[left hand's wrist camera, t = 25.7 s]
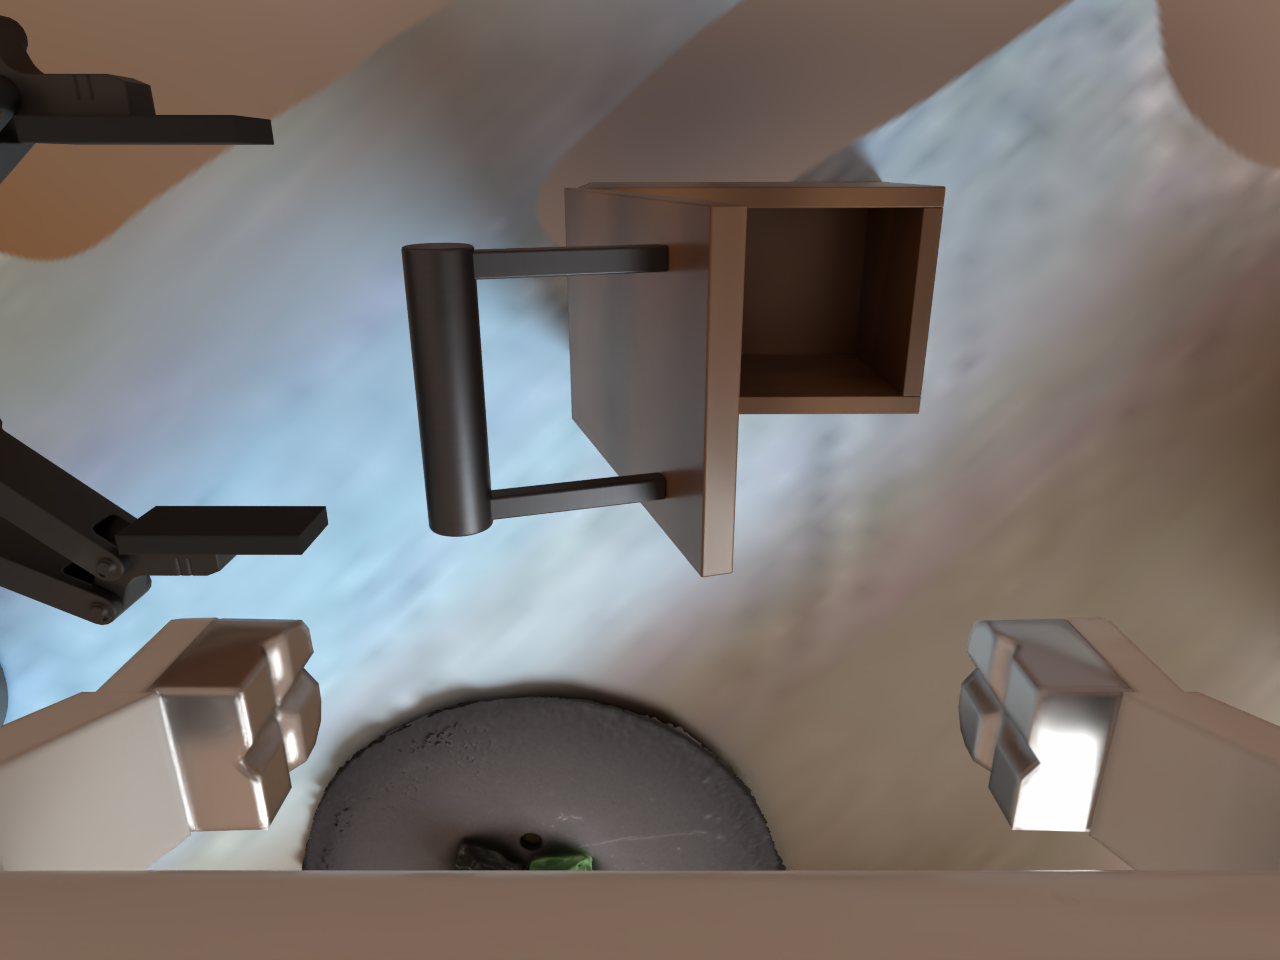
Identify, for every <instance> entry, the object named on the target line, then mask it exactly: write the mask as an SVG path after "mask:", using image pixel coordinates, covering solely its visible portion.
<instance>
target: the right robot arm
mask: <svg viewBox="0 0 1280 960" xmlns="http://www.w3.org/2000/svg"><path fill="white" fill-rule="evenodd" d="M27 46H28V41H27V36H26V33H25V31H24V29H23V28H22V27H21V26H20V25H19V23H18V22H16V21H15V20H13V19H11V18H9V17H5V16H0V184H1V182H2V181H3V180H4V179H5V178H6V177H7V175H8V174H9V173H10V172H11V171H12V170H13V169H14V167H15V166H16V165H17V164H18V163H19V162H20V160H21V159H22V158H23V157H24V156H25V154H26V153H27V152H28V151H29V150H30V149H31V148H32V146H33V145H34V144H35V143H51V144H138V145H139V144H143V145H145V144H146V145H147V144H149V145H150V144H151V145H153V144H155V145H159V144H161V145H164V144H165V145H167V144H169V145H274V140H273V133H272V126H271V120H268V119H260V118H252V117H244V116H235V115H156V114H155V108H154V103H153V98H152V93H151V87H150V85H148V84H145V83H143V82H140V81H138V80H135V79H133V78H127V77H121V76H115V75H109V74H44V73H42V72H41V71H40V70H39V69H38V68H37V67H36V66H35V65H34V64H33V62H32V61H31V59H30V58H29V56H28V54H27V52H26V50H27ZM327 525H328V519H327V512H326V506H155V507H154V508H153V509H151V510H150V511H148V512H147V513H145V514H144V515H143V516H141V517H140V518H138V519H137V518H135V517H134V516H132V515H131V514H129V513H128V512H126V511H125V510H123V509H122V508H120V507H119V506H117V505H116V504H114V503H112V502H111V501H109V500H108V499H106V498H105V497H103V496H102V495H100V494H99V493H97V492H96V491H94V490H93V489H91V488H90V487H88V486H87V485H85V484H84V483H82V482H81V481H79V480H78V479H76V478H75V477H73V476H72V475H70V474H69V473H67V472H66V471H64V470H63V469H61V468H60V467H58V466H57V465H55V464H54V463H52V462H51V461H49V460H48V459H46V458H44V457H43V456H41V455H40V454H38V453H37V452H35V451H34V450H32V449H31V448H29V447H28V446H26V445H25V444H23V443H22V442H20V441H19V440H17V439H16V438H14V437H13V436H11V435H10V434H8V433H7V432H5V431H4V430H3V429H2V421H1V419H0V586H1V587H4V588H6V589H9V590H11V591H14V592H17V593H19V594H22V595H24V596H27V597H29V598H32V599H34V600H37V601H39V602H42V603H44V604H47V605H50V606H52V607H55V608H57V609H60V610H62V611H65V612H67V613H70V614H72V615H75V616H78V617H80V618H83V619H85V620H88V621H90V622H93V623H95V624H100V625H106V624H109V623H111V622H113V621H114V620H115V619H116V618H117V617H118V616H120V615H121V614H122V613H123V612H124V611H125V610H127V609H128V608H129V607H130V606H131V605H132V604H133V603H135V602H136V601H137V600H138V599H139V598H140V597H142V596H143V595H144V594H145V593H146V592H147V591H149V589H150V587H151V582H152V581H151V578H150V576H149V575H163V576H179V575H182V576H190V575H193V576H208V575H210V574H213V573H215V572H218V571H220V570H221V569H222V568H223V567H224V566H225V565H226V564H228V563H229V562H230V561H231V560H232V559H233V558H234V557H235V556H236V555H302V554H303V553H304V552H305V550H306V549H307V548H308V547H309V546H310V545H311V543H312V542H313V541H314V540H315V539H316V538H317V537H318V535H319V534H320V533H321V532H322V531H323V530H324V529H325V527H326V526H327ZM7 707H8V691H7V684H6V679H5V676H4V673H3V669H2V667H1V665H0V726H2V725H3V723H4V720H5V717H6V713H7Z"/></svg>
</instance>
